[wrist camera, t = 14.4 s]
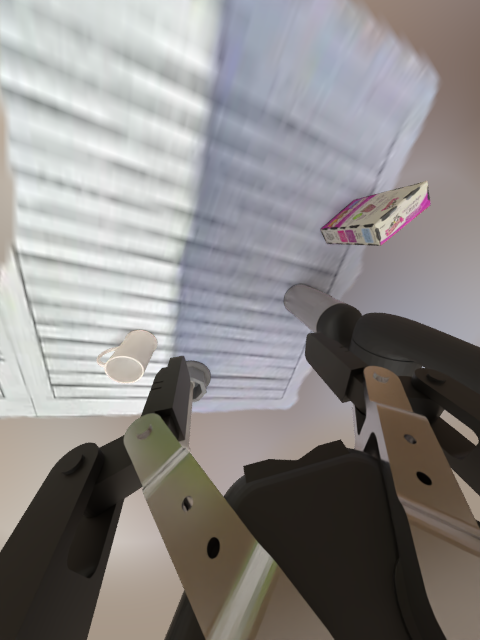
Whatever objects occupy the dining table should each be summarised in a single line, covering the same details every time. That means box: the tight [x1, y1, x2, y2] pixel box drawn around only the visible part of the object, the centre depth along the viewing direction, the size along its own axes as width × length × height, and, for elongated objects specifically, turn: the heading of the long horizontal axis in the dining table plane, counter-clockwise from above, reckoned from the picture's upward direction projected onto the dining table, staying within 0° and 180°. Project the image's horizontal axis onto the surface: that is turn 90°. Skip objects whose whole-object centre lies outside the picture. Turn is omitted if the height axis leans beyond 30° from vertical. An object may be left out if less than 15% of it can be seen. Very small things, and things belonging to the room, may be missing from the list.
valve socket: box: [186, 361, 211, 402], centre depth 54 cm, size 17×14×10 cm
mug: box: [97, 330, 157, 383], centre depth 44 cm, size 12×8×12 cm
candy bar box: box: [321, 181, 430, 246], centre depth 39 cm, size 11×5×16 cm, turn 130°
